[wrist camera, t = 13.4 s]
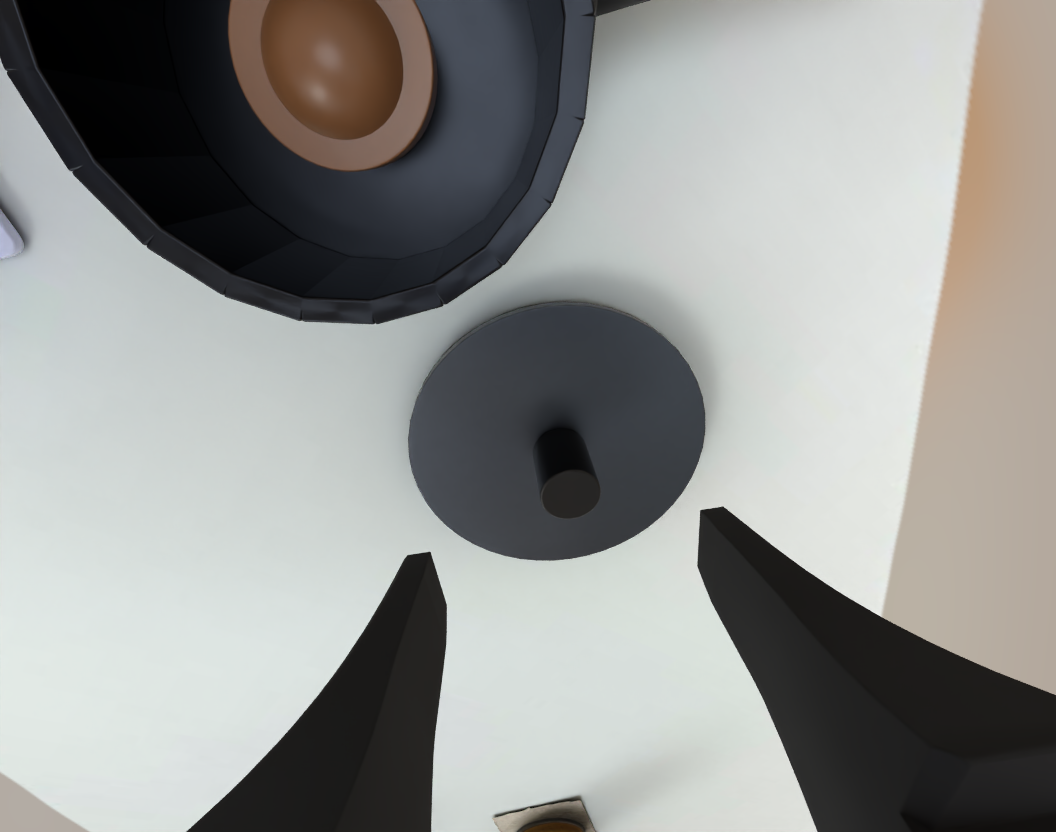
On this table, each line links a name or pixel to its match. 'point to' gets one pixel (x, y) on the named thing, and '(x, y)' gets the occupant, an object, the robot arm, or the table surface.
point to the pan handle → (613, 5)
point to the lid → (556, 431)
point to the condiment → (547, 819)
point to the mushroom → (336, 76)
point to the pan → (292, 182)
